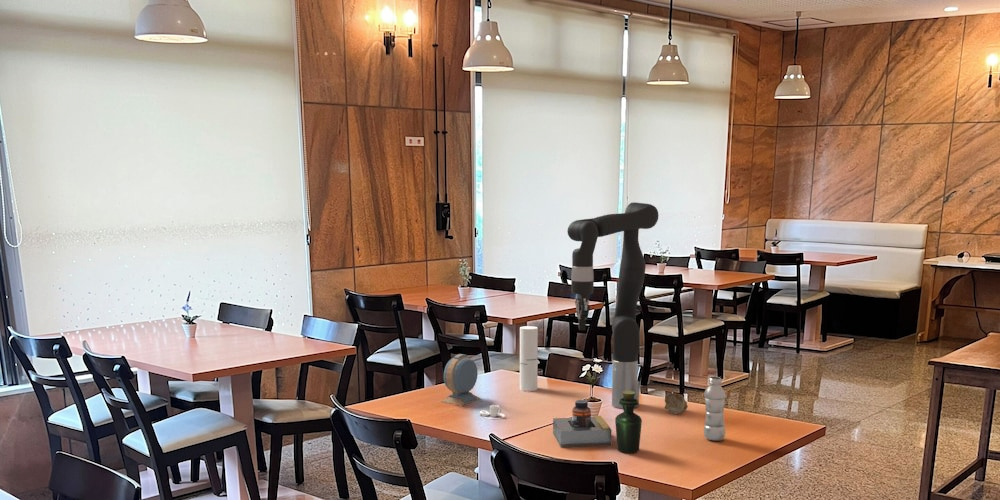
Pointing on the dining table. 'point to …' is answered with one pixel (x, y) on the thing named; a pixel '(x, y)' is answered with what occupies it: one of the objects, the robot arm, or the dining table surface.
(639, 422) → the potion bottle
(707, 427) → the plastic bottle
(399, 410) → the dining table surface
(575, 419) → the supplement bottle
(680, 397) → the grey brown rock
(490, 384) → the dining table surface
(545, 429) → the dining table surface
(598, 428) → the jig
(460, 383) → the alarm clock
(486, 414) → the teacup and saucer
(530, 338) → the cylindrical container
